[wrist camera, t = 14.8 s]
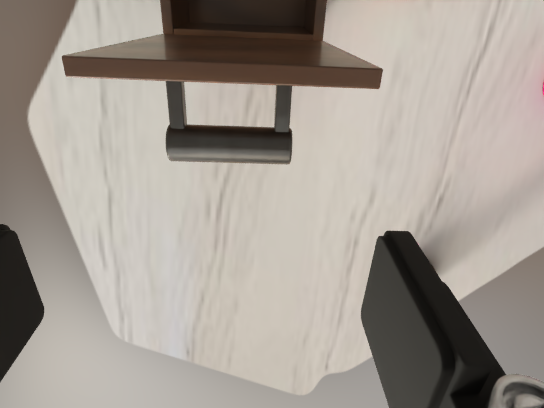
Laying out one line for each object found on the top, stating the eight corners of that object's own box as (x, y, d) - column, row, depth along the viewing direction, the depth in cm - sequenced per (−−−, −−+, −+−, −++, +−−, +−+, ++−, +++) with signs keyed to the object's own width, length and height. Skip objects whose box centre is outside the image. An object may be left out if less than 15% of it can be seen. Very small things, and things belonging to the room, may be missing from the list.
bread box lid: (60, 55, 14) (86, 175, 16) (383, 68, 14) (363, 182, 17) (161, 33, 28) (168, 99, 30) (323, 40, 28) (317, 105, 31)
